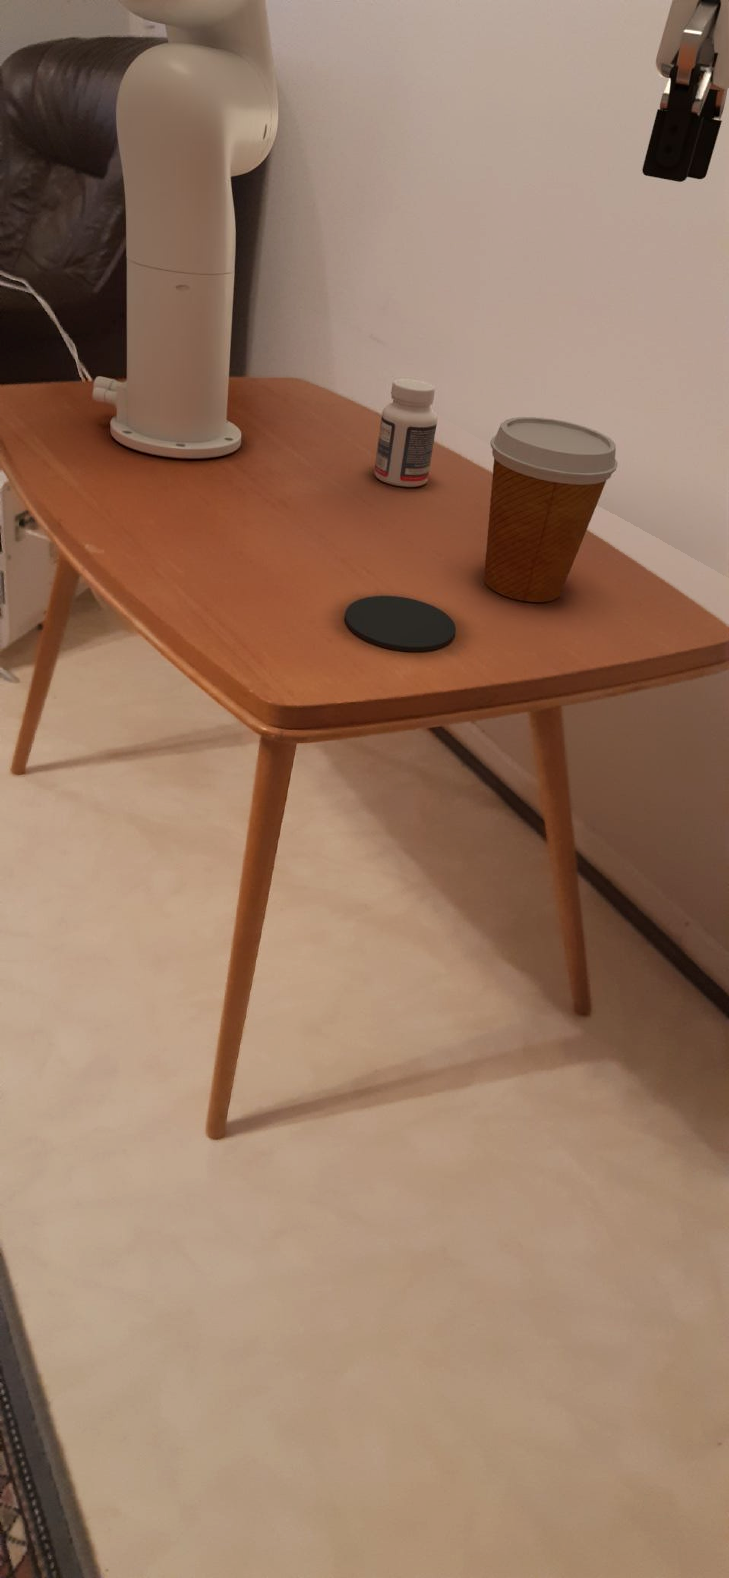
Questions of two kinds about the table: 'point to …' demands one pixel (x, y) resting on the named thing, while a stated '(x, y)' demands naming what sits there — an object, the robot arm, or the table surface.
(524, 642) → the table surface
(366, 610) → the corner coaster
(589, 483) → the disposable coffee cup
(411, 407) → the pill bottle
